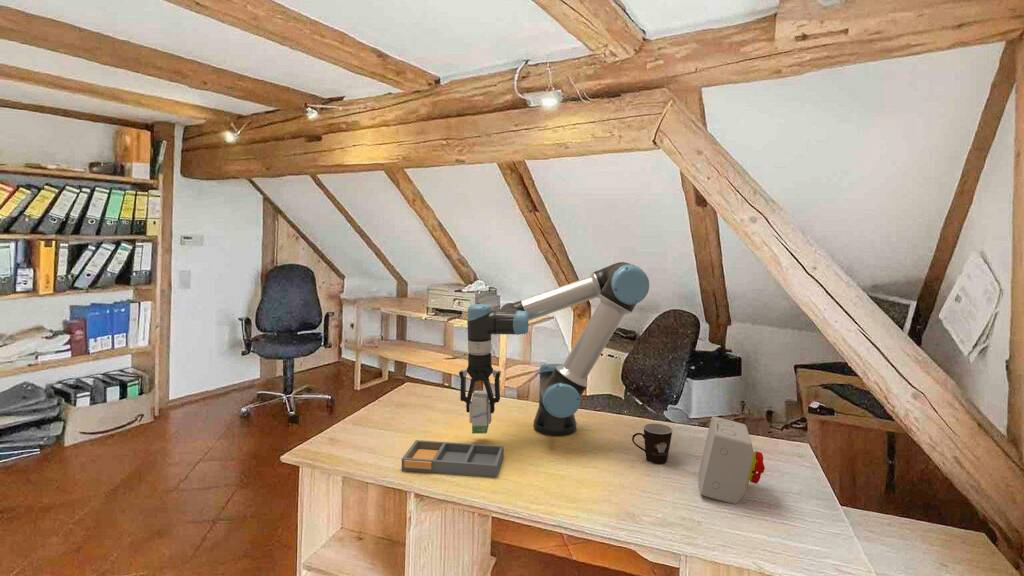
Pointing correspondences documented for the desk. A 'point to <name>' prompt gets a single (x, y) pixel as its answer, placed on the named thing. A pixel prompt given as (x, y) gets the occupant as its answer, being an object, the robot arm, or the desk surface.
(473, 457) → the tray
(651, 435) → the coffee mug
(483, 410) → the ink box
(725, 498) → the electrical switch box
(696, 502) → the desk surface
